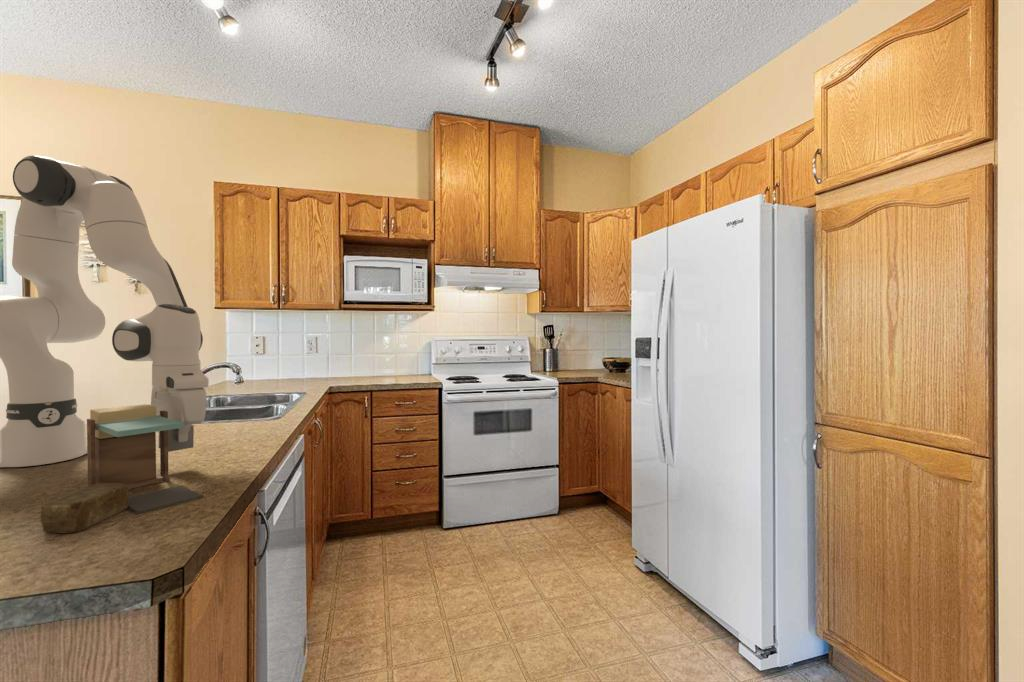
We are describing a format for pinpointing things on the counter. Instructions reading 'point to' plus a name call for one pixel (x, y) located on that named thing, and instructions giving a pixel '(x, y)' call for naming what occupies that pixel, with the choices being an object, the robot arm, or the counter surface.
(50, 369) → the robot arm
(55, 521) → the stone block
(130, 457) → the trapdoor frame
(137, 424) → the trapdoor
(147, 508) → the rubber mat
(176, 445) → the stone cube
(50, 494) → the counter surface
